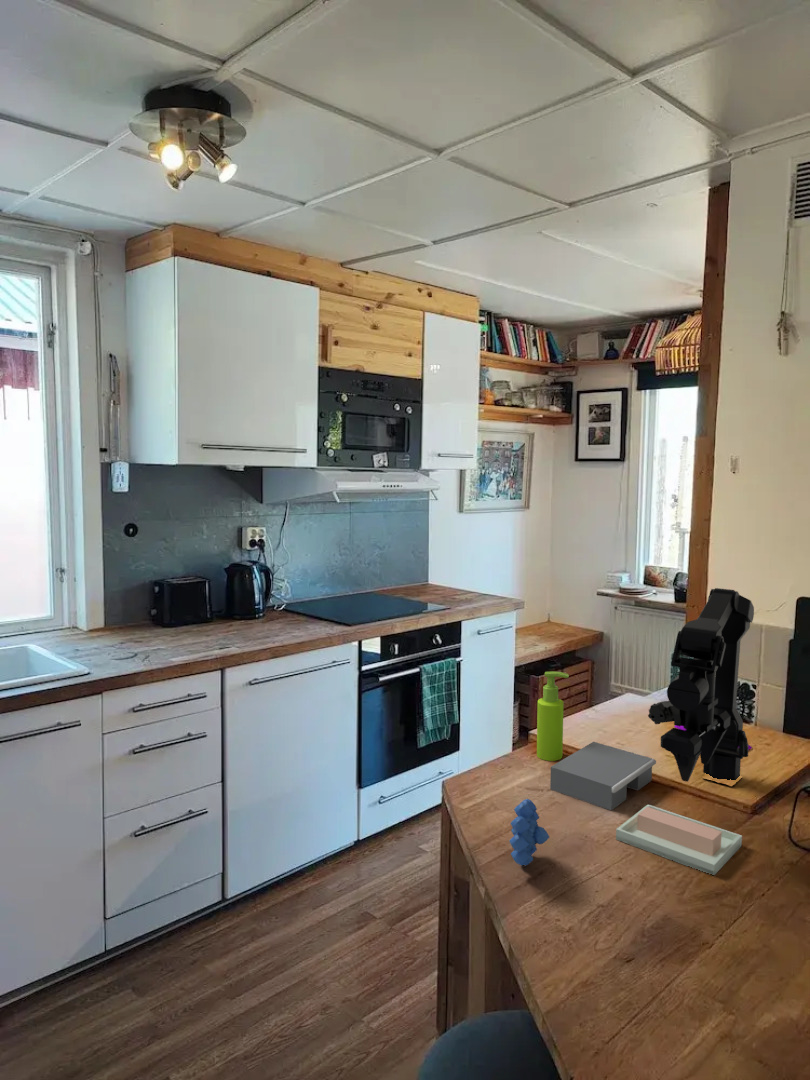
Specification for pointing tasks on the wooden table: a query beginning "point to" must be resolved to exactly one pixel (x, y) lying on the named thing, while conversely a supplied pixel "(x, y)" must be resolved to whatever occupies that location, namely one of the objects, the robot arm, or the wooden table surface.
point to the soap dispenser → (550, 720)
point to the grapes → (526, 833)
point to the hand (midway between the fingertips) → (694, 772)
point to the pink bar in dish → (679, 831)
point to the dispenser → (601, 774)
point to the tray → (679, 852)
